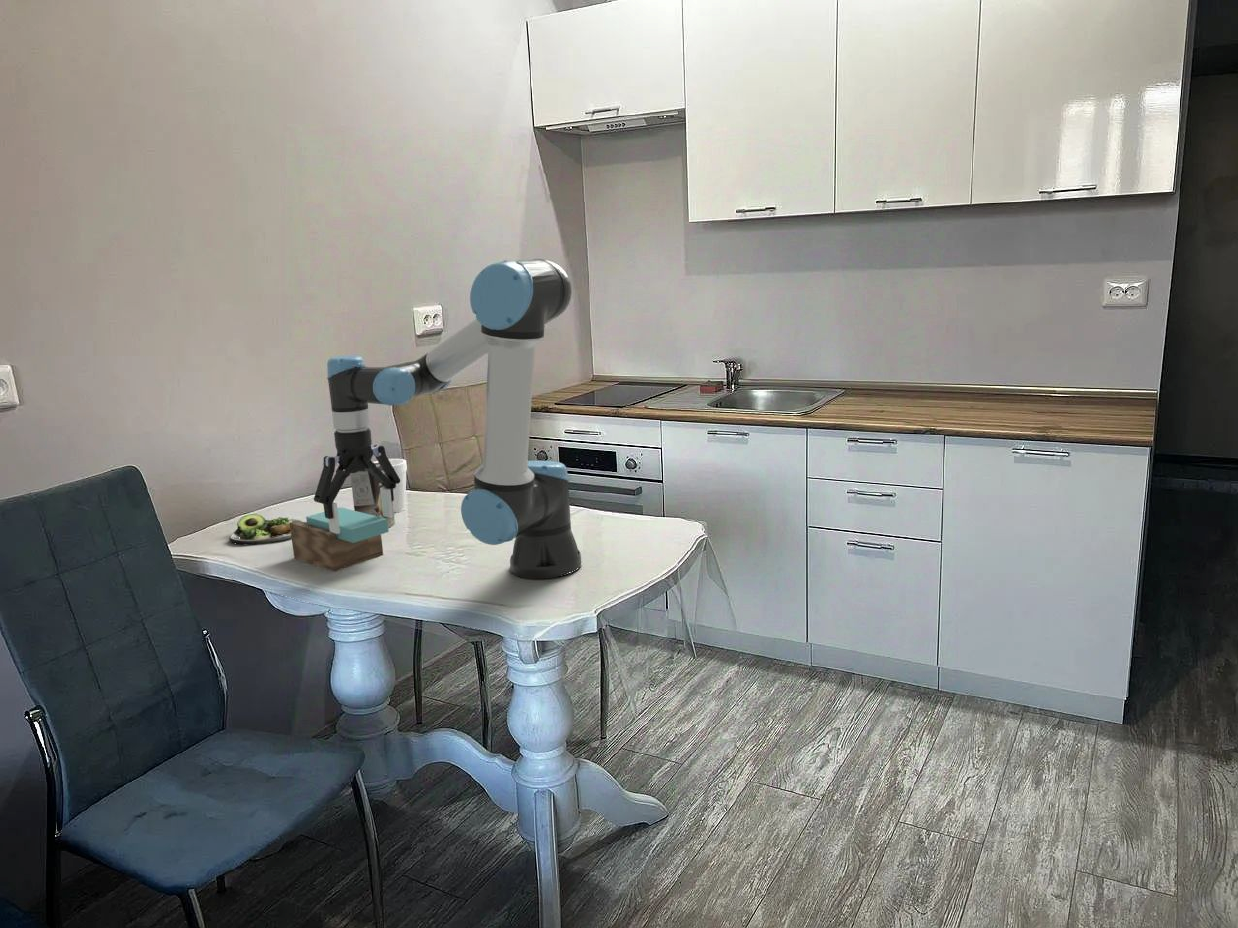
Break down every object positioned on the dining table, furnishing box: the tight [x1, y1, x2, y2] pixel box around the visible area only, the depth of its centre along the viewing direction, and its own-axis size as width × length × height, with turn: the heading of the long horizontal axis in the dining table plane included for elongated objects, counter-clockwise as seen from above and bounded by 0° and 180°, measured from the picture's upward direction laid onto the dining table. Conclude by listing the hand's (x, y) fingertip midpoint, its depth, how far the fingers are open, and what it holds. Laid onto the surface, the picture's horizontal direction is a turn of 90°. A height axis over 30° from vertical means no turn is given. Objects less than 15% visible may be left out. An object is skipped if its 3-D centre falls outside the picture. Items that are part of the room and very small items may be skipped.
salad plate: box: [229, 513, 307, 545], centre depth 233 cm, size 19×18×5 cm
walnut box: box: [290, 521, 384, 572], centre depth 212 cm, size 16×13×8 cm
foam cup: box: [372, 458, 408, 514], centre depth 248 cm, size 10×9×13 cm
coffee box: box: [350, 463, 396, 529], centre depth 231 cm, size 9×6×16 cm
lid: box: [305, 506, 389, 543], centre depth 207 cm, size 18×9×3 cm, turn 49°
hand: (362, 524), depth 203 cm, fingers open, 13 cm apart
